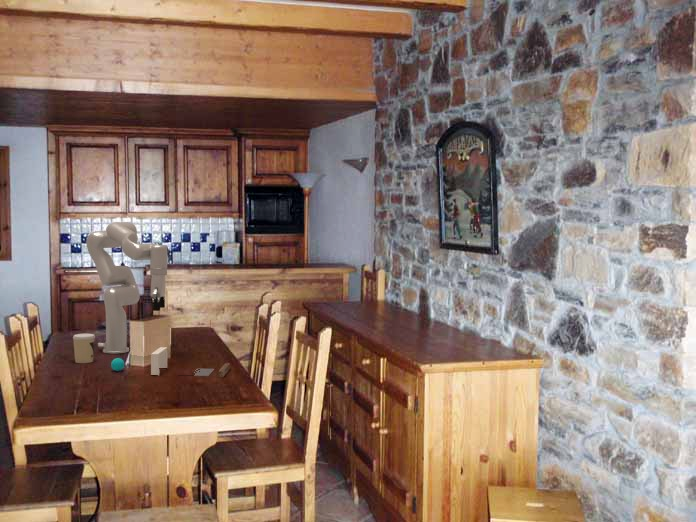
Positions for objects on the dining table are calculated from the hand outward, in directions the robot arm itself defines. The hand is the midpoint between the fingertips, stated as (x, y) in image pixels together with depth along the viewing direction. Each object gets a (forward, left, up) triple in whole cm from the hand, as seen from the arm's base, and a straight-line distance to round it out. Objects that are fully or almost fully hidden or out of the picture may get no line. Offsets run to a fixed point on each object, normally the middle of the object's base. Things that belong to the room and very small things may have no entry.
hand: (158, 309), depth 333 cm
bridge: (+6, -21, -24) cm, 32 cm away
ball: (-12, -21, -21) cm, 32 cm away
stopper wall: (+34, -21, -24) cm, 47 cm away
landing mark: (+22, -21, -24) cm, 39 cm away
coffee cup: (-33, -4, -24) cm, 41 cm away
